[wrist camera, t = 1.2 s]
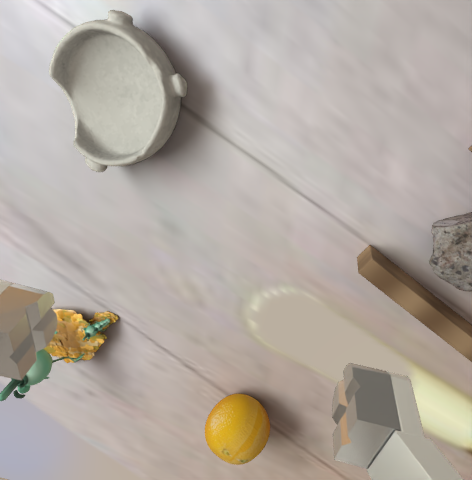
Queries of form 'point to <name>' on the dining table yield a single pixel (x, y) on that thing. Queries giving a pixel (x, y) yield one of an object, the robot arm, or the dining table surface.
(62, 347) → the green and yellow piece
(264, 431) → the fruit
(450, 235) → the rock
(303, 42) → the dining table surface
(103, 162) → the dish
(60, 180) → the dining table surface
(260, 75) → the dining table surface
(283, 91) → the dining table surface
